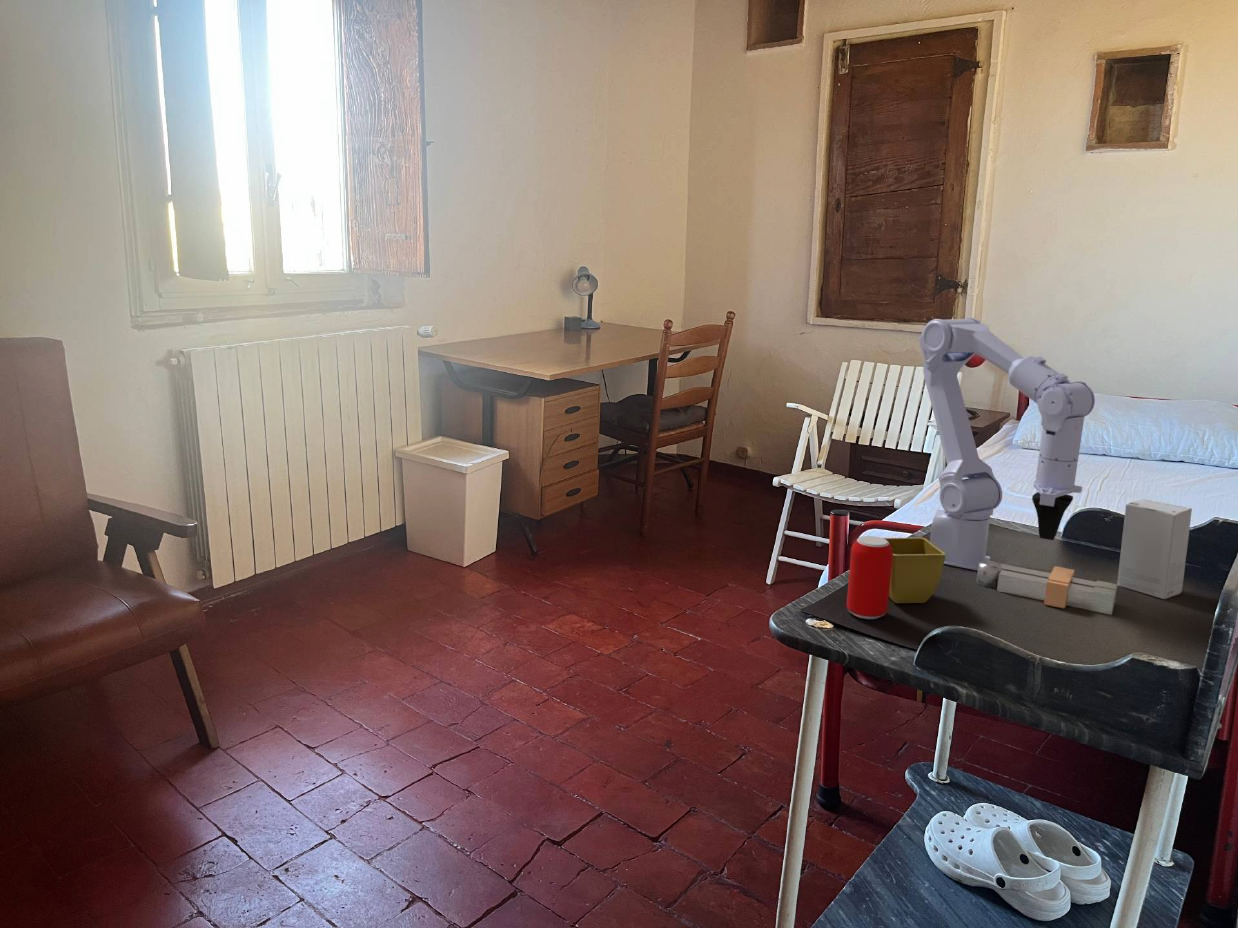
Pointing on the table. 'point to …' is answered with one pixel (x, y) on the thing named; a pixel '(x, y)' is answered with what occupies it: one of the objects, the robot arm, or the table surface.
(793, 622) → the table surface
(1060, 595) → the block
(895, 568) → the flower pot
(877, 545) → the beverage can
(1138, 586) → the skincare box
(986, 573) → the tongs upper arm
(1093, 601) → the tongs lower arm
